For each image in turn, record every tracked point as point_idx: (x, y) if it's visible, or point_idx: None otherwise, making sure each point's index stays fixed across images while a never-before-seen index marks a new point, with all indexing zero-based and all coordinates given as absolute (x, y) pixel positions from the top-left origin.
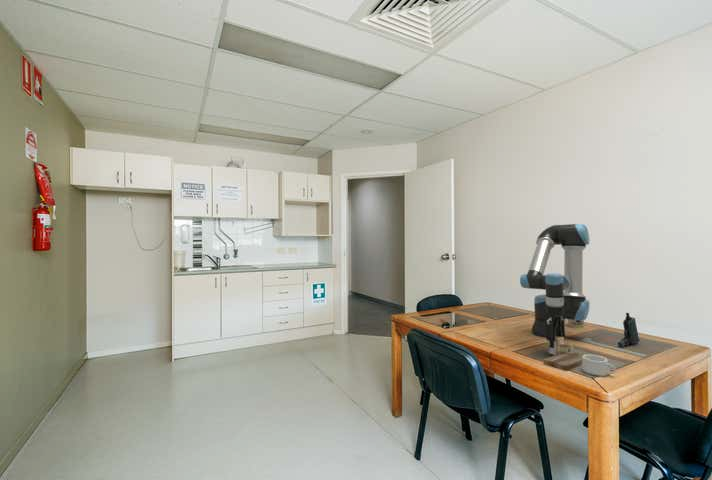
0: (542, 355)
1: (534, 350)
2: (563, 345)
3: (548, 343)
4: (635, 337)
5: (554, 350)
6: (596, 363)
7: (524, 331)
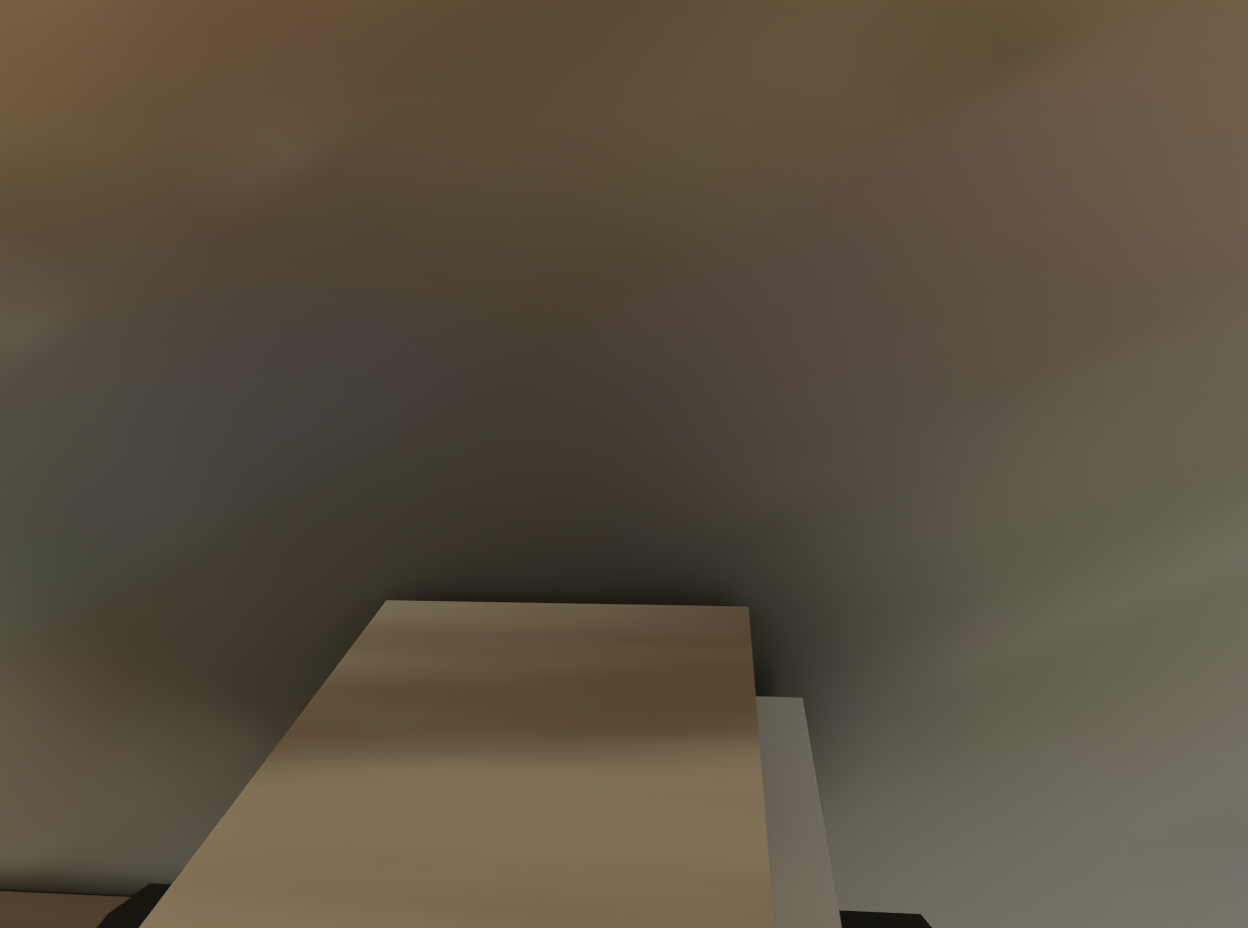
0: (129, 538)
1: (344, 80)
2: None
3: (237, 829)
4: None
5: None
6: None
7: None
